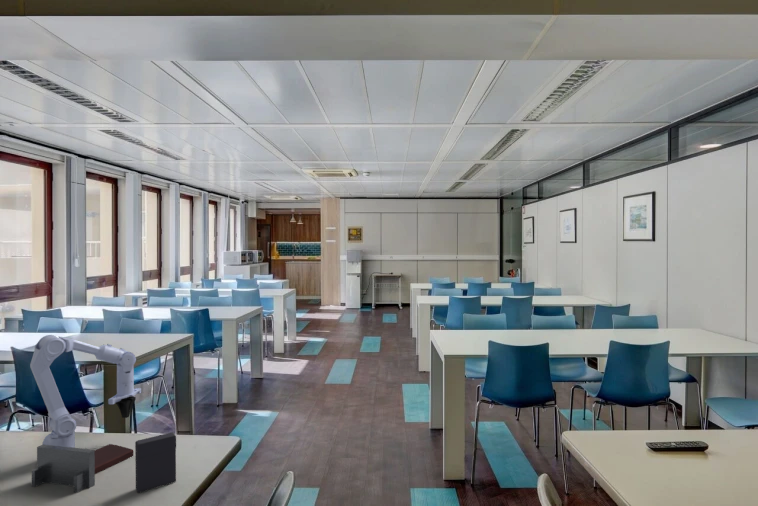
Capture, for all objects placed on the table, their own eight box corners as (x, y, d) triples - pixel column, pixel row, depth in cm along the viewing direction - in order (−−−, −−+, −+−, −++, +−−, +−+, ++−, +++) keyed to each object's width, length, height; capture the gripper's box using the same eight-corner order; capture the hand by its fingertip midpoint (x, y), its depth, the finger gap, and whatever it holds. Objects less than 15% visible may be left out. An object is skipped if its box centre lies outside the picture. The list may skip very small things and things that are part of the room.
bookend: (28, 486, 142) (27, 451, 142) (43, 478, 147) (42, 444, 147) (81, 493, 138) (80, 456, 138) (94, 484, 142) (94, 449, 142)
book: (134, 457, 163) (134, 448, 163) (81, 482, 145) (81, 472, 145) (109, 452, 167) (109, 443, 167) (55, 476, 149) (55, 466, 149)
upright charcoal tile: (173, 477, 147) (172, 431, 147) (176, 482, 143) (176, 435, 143) (135, 488, 140) (134, 440, 140) (137, 494, 136) (137, 444, 136)
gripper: (119, 388, 168) (119, 424, 168) (147, 377, 182) (147, 411, 182) (103, 386, 169) (103, 423, 169) (132, 376, 183) (132, 410, 183)
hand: (125, 417), depth 176 cm, fingers closed
